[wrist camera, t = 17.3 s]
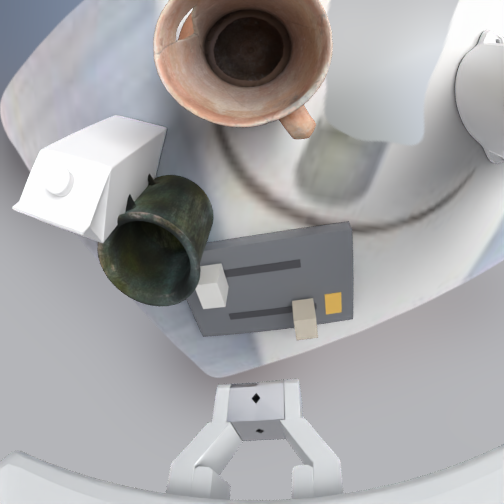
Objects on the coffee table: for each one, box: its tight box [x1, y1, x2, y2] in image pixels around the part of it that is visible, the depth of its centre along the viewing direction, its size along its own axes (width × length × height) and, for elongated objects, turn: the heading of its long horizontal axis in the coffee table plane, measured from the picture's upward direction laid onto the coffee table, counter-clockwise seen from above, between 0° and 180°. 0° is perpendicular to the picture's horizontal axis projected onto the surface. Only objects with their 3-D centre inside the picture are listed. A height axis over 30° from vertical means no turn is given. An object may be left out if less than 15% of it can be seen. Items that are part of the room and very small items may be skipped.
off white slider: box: [195, 263, 229, 309], centre depth 40 cm, size 3×4×4 cm
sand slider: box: [292, 298, 318, 340], centre depth 43 cm, size 3×4×4 cm
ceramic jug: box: [153, 0, 333, 139], centre depth 23 cm, size 18×14×14 cm
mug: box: [98, 174, 213, 306], centre depth 34 cm, size 11×15×12 cm
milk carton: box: [12, 115, 167, 243], centre depth 27 cm, size 7×7×19 cm
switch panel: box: [187, 221, 353, 337], centre depth 44 cm, size 24×16×2 cm, turn 101°
